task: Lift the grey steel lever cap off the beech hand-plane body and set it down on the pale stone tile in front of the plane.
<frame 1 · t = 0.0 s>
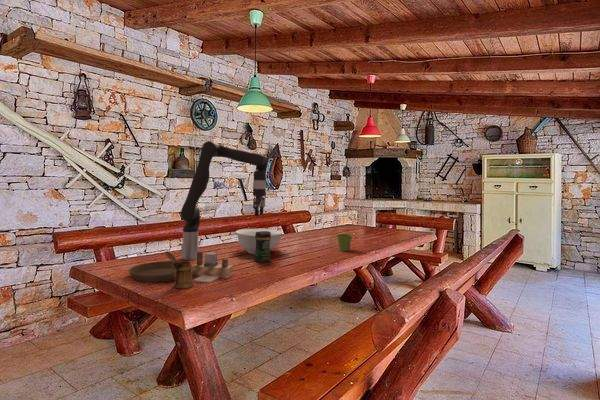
hand: (259, 215, 223), 29 cm above the table, tool pointing down, fingers open, 8 cm apart
plant saucer: (161, 276, 195), on the table
bowl: (258, 252, 259), on the table
lever cap: (210, 262, 197), point 6 cm above the table, touching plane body
stone tile: (206, 279, 188), on the table
turkish coffee pot: (179, 287, 175), on the table
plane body: (212, 275, 197), on the table
plant pot: (344, 250, 271), on the table
coffee jar: (262, 261, 233), on the table
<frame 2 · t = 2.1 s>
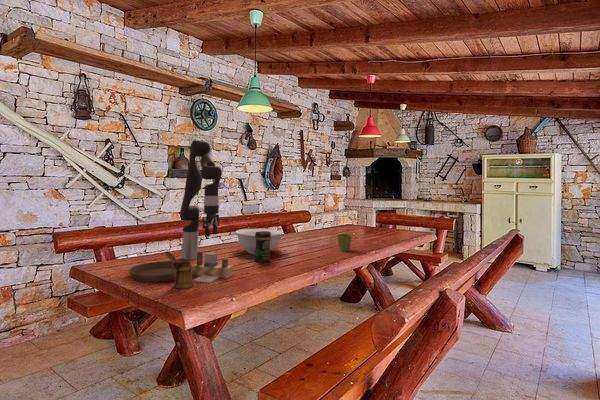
hand: (211, 235, 196), 21 cm above the table, tool pointing down, fingers open, 8 cm apart
nothing on the table moved.
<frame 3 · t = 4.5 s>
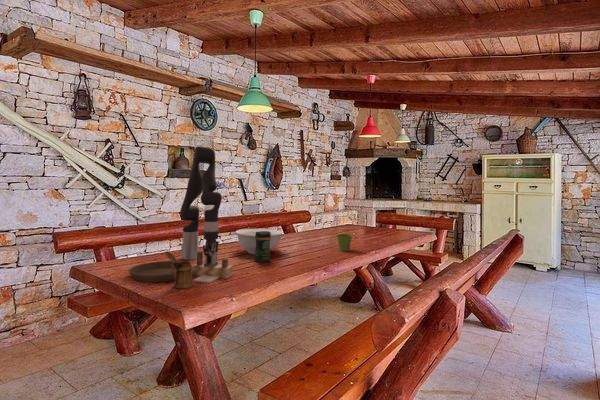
hand: (210, 262, 197), 7 cm above the table, tool pointing down, fingers closed on lever cap, 4 cm apart
lever cap: (210, 262, 197), point 7 cm above the table, touching gripper, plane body
everything else where it was.
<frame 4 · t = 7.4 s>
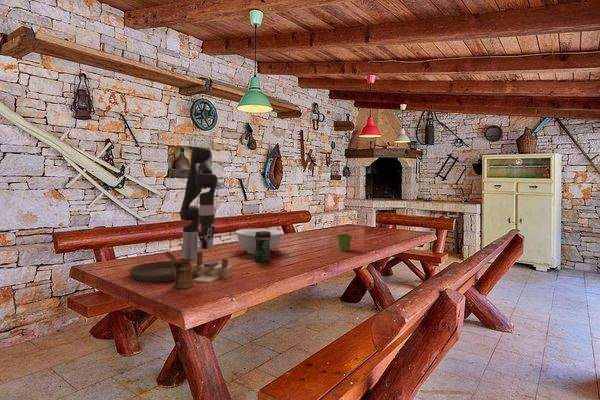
hand: (206, 247, 187), 16 cm above the table, tool pointing down, fingers closed on lever cap, 4 cm apart
lever cap: (206, 248, 187), point 16 cm above the table, touching gripper
everything else where it was.
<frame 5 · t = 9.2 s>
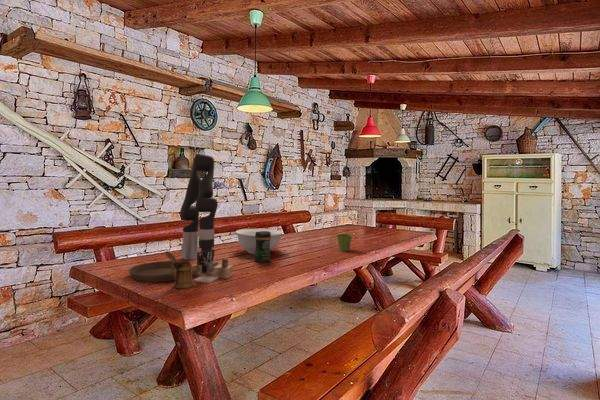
hand: (206, 271, 188), 4 cm above the table, tool pointing down, fingers closed on lever cap, 4 cm apart
lever cap: (206, 272, 188), point 4 cm above the table, touching gripper
everything else where it was.
when the fingers open (2 cm above the table, at t = 10.5 s): lever cap drops 1 cm, resting on stone tile.
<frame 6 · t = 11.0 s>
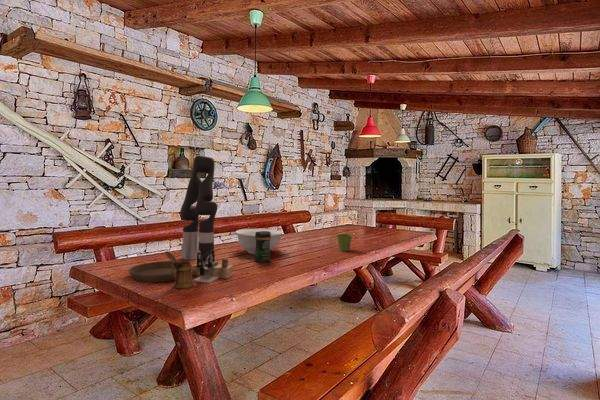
hand: (206, 273, 188), 3 cm above the table, tool pointing down, fingers open, 8 cm apart
lever cap: (206, 278, 188), point 1 cm above the table, touching stone tile
everything else where it was.
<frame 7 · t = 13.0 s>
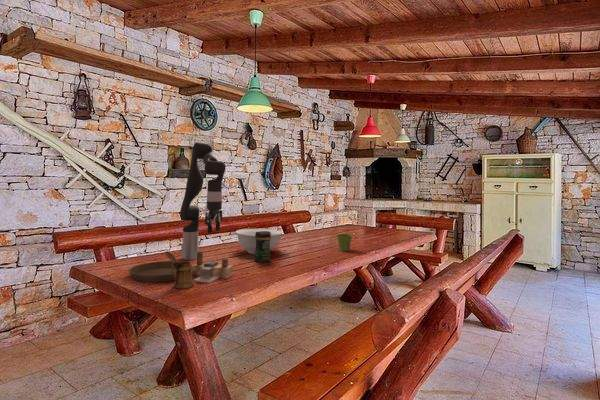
hand: (213, 231, 192), 24 cm above the table, tool pointing down, fingers open, 8 cm apart
nothing on the table moved.
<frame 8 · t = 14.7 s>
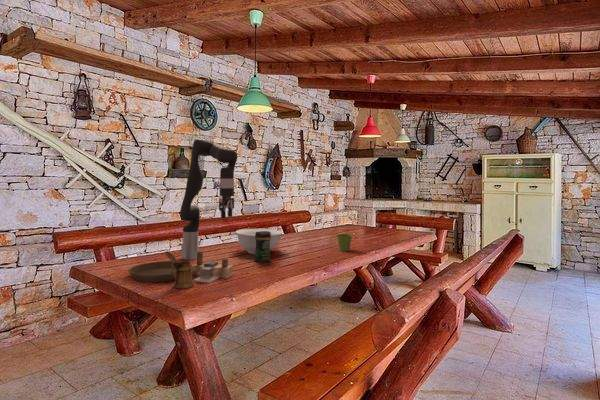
hand: (226, 217, 200), 30 cm above the table, tool pointing down, fingers open, 8 cm apart
nothing on the table moved.
at the end: lever cap inside the target area on the stone tile (0.2 cm from its centre), point 0.8 cm above the stone tile's base; lever cap tilted 0°; lever cap touching stone tile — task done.
